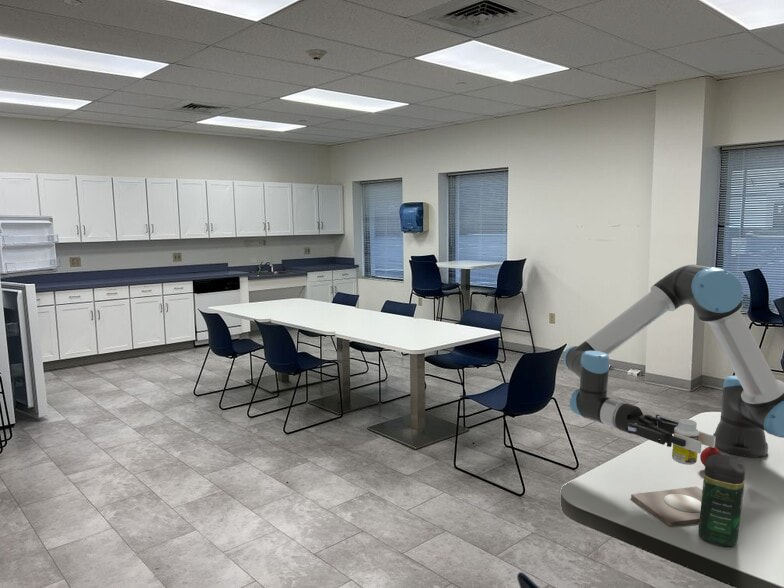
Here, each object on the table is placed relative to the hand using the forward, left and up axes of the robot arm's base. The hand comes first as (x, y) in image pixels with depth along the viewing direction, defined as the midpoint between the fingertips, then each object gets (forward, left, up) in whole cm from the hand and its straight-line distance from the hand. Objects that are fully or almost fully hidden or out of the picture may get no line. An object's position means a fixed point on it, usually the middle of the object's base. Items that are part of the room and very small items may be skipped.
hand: (707, 444), depth 137 cm
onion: (-22, -20, -18) cm, 35 cm away
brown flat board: (+1, -4, -18) cm, 18 cm away
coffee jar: (+3, +9, -18) cm, 21 cm away
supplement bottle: (+2, -5, -6) cm, 8 cm away
